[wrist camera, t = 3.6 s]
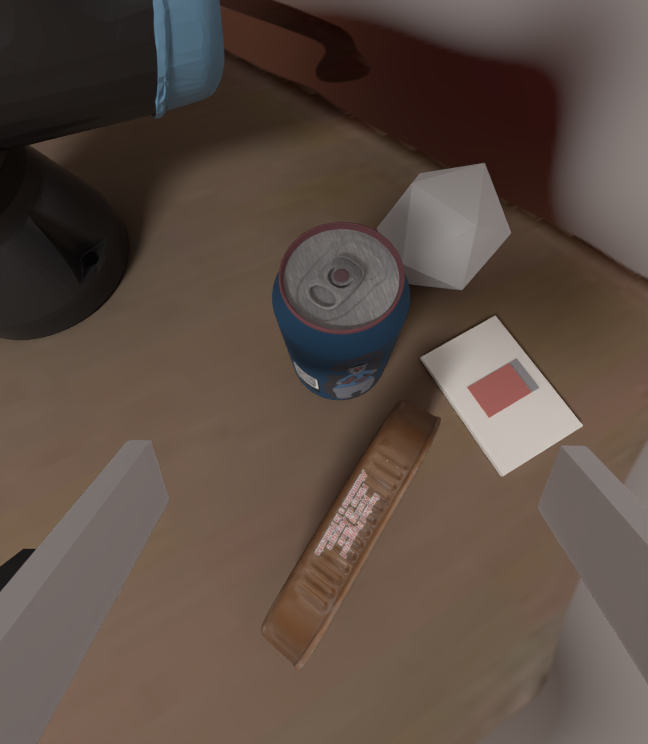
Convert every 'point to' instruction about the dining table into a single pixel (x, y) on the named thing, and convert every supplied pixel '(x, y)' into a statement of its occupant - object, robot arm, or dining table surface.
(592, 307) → the dining table surface
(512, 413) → the card
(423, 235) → the die
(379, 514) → the tin
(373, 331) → the soda can
